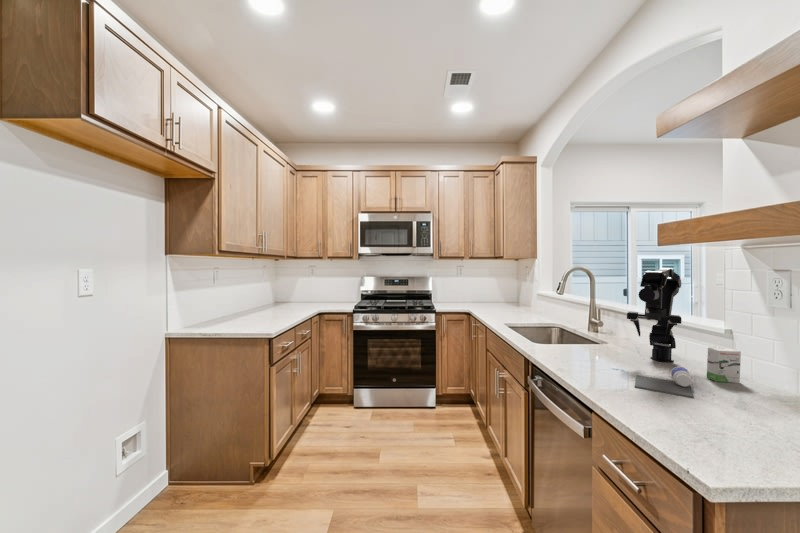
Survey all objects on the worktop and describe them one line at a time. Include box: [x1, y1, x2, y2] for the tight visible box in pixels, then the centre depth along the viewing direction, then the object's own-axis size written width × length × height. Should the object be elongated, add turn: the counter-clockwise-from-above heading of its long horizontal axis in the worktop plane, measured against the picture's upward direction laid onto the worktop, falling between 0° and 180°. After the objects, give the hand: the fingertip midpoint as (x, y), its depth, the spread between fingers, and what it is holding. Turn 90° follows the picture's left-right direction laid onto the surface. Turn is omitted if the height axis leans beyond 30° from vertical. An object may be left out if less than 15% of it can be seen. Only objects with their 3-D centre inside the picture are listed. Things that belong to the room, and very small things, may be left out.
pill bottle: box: [670, 366, 693, 387], centre depth 129 cm, size 5×5×10 cm
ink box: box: [706, 346, 742, 384], centre depth 137 cm, size 9×5×12 cm, turn 87°
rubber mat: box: [634, 374, 695, 399], centre depth 128 cm, size 16×16×1 cm
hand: (652, 337), depth 154 cm, fingers open, 9 cm apart
